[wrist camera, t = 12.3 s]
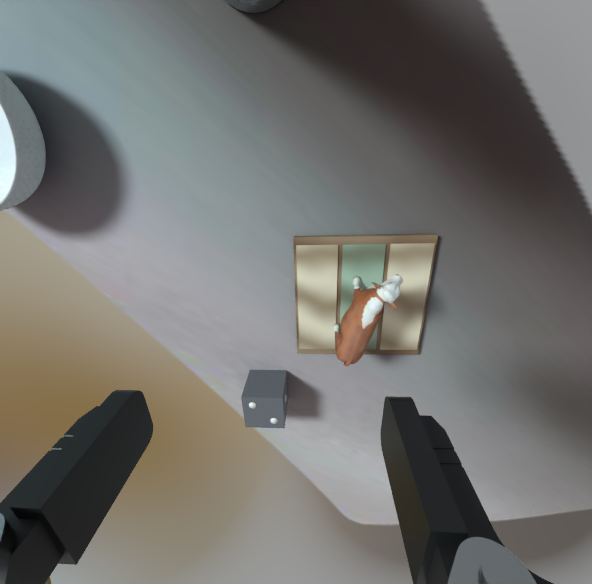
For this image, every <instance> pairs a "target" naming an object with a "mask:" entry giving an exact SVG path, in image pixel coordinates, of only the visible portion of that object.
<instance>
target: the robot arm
mask: <svg viewBox="0 0 592 584" xmlns="http://www.w3.org/2000/svg"><path fill="white" fill-rule="evenodd" d="M225 1H226V2H227V3H228V4H230V5H231V6H233V7H234V8H236V9H238V10H241V11H243V12H247V13H259V12H264V11H267V10H269V9H270V8H272V7H274V6H276V5H277V4H278V3H279V2H280V1H281V0H225ZM152 433H153V423H152V419H151V416H150V413H149V410H148V407H147V404H146V401H145V398H144V395H143V393H142V392H141V391H135V390H116V391H114V392H112V393H111V394H110V395H109V396H108V397H107V399H106V400H105V401H104V402H103V403H102V404H101V405H100V406H96V407H95V408H94V409H92V410H91V411H89V412H88V413H87V414H85V415H84V416H82V417H81V418H79V419H78V420H77V421H76V423H75V424H74V425H73V426H72V427H71V428H70V429H69V430H68V431H67V432H66V433H65V434H64V437H63V438H61V439H60V440H59V441H58V442H57V443H56V444H55V445H54V446H53V447H52V450H51V451H48V452H47V454H46V455H45V456H44V457H43V458H42V459H41V460H40V461H39V462H38V463H37V464H36V465H35V467H34V468H33V469H32V470H31V471H30V472H29V473H28V474H27V475H26V476H25V477H24V478H23V479H22V480H21V481H20V483H19V484H18V485H17V486H16V487H15V488H14V489H13V490H12V491H11V492H10V493H9V494H8V495H7V497H6V498H5V499H4V500H3V501H2V502H1V503H0V584H51V580H50V577H49V576H50V575H51V573H52V571H53V570H54V569H55V567H56V566H57V564H58V563H60V564H75V565H76V564H77V563H78V561H79V559H80V558H81V556H82V554H83V553H84V551H85V549H86V548H87V546H88V544H89V543H90V541H91V539H92V538H93V536H94V534H95V533H96V531H97V529H98V528H99V526H100V524H101V523H102V521H103V519H104V517H105V516H106V514H107V512H108V511H109V509H110V508H111V506H112V504H113V503H114V501H115V499H116V498H117V496H118V494H119V493H120V491H121V489H122V488H123V486H124V484H125V482H126V481H127V479H128V477H129V476H130V474H131V472H132V471H133V469H134V467H135V466H136V464H137V462H138V461H139V459H140V457H141V456H142V454H143V452H144V451H145V449H146V447H147V445H148V444H149V442H150V440H151V437H152ZM381 446H382V452H383V456H384V460H385V465H386V469H387V473H388V478H389V482H390V486H391V490H392V495H393V499H394V503H395V507H396V512H397V516H398V520H399V524H400V529H401V533H402V537H403V542H404V546H405V550H406V554H407V558H408V562H409V567H410V571H411V576H412V580H413V584H553V583H551V582H549V581H546V580H544V579H542V578H541V577H539V576H537V575H536V574H534V573H532V572H531V571H530V570H528V569H527V568H526V567H525V565H523V563H522V562H521V561H520V560H519V559H518V558H517V557H516V556H515V555H514V554H513V553H511V552H510V551H509V550H508V549H506V548H505V546H504V545H503V544H502V542H501V541H500V540H499V538H498V536H497V535H496V533H495V531H494V529H493V527H492V525H491V523H490V521H489V519H488V517H487V515H486V513H485V511H484V509H483V507H482V505H481V503H480V501H479V498H478V496H477V494H476V492H475V490H474V488H473V486H472V484H471V482H470V480H469V478H468V476H467V474H466V472H465V470H464V468H462V466H461V462H460V460H459V458H458V456H457V454H456V452H454V447H453V445H452V443H451V441H450V439H449V437H448V435H447V433H446V431H445V430H444V429H443V428H442V427H441V426H440V425H439V424H438V423H437V422H436V420H435V419H434V418H433V417H432V416H420V415H419V413H418V411H417V408H416V406H415V403H414V401H413V399H412V398H411V397H386V398H385V402H384V410H383V418H382V426H381Z"/></svg>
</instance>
